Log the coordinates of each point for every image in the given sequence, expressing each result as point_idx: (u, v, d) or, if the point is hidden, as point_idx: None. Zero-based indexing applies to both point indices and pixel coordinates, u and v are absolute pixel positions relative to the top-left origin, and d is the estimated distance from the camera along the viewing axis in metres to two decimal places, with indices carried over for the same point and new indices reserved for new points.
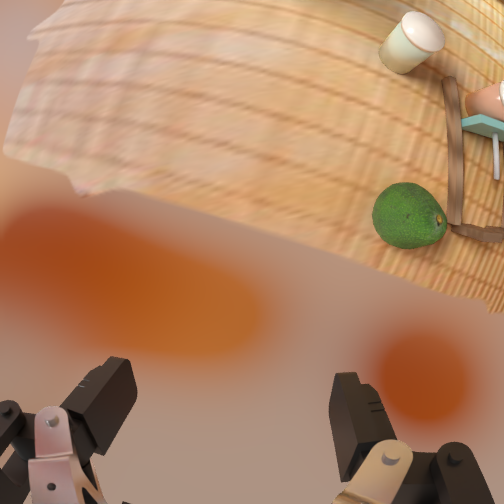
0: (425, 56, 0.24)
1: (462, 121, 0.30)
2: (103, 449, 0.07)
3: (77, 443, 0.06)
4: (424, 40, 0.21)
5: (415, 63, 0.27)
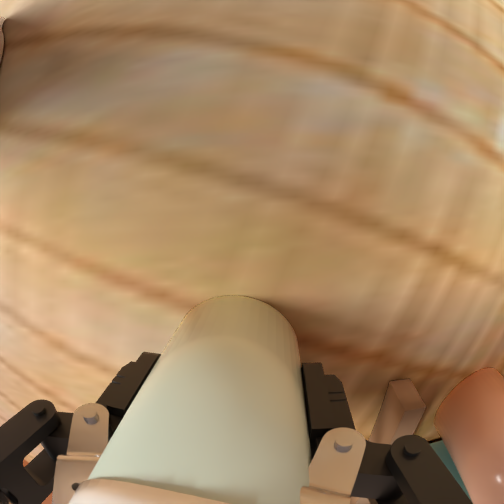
0: None
1: None
2: None
3: None
4: None
5: None
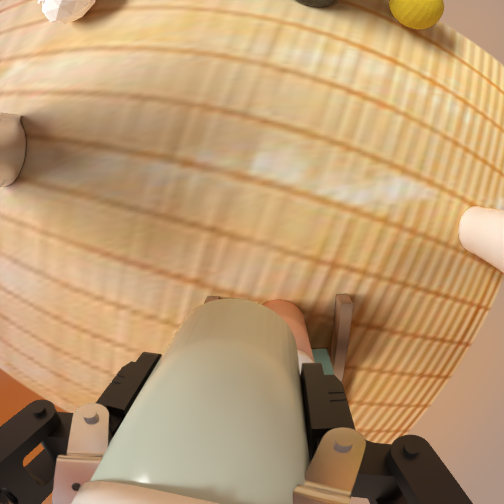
0: None
1: None
2: None
3: None
4: None
5: None
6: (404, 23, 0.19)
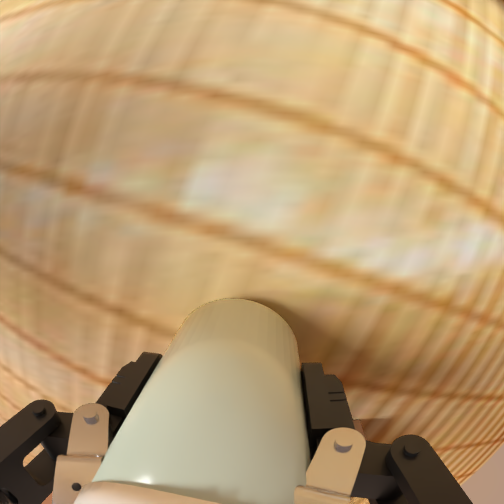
0: None
1: None
2: None
3: None
4: None
5: None
6: None
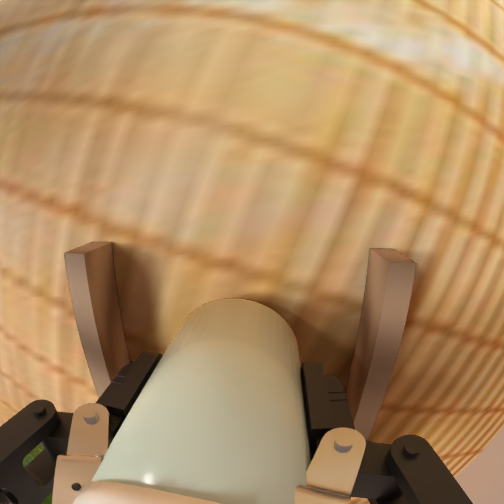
0: None
1: None
2: None
3: None
4: None
5: None
6: None
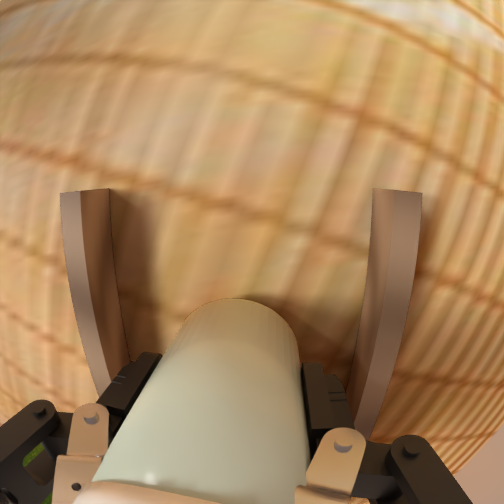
0: None
1: None
2: None
3: None
4: None
5: None
6: None
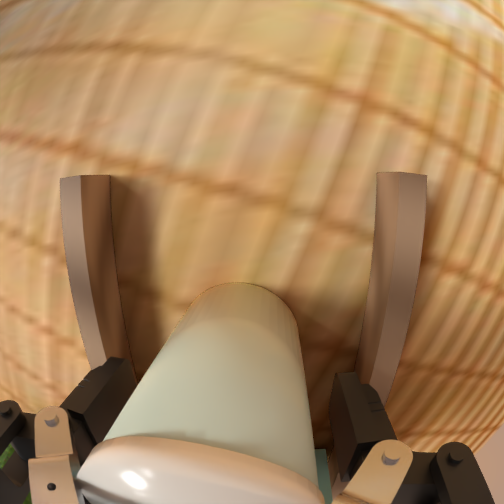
0: None
1: None
2: None
3: (77, 443, 0.06)
4: None
5: None
6: None
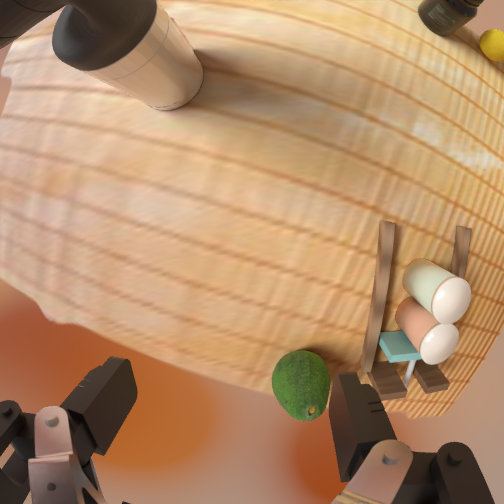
0: None
1: (380, 340, 0.38)
2: (103, 449, 0.07)
3: (77, 443, 0.06)
4: (447, 315, 0.28)
5: None
6: (488, 56, 0.25)
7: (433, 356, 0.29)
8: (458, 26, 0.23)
